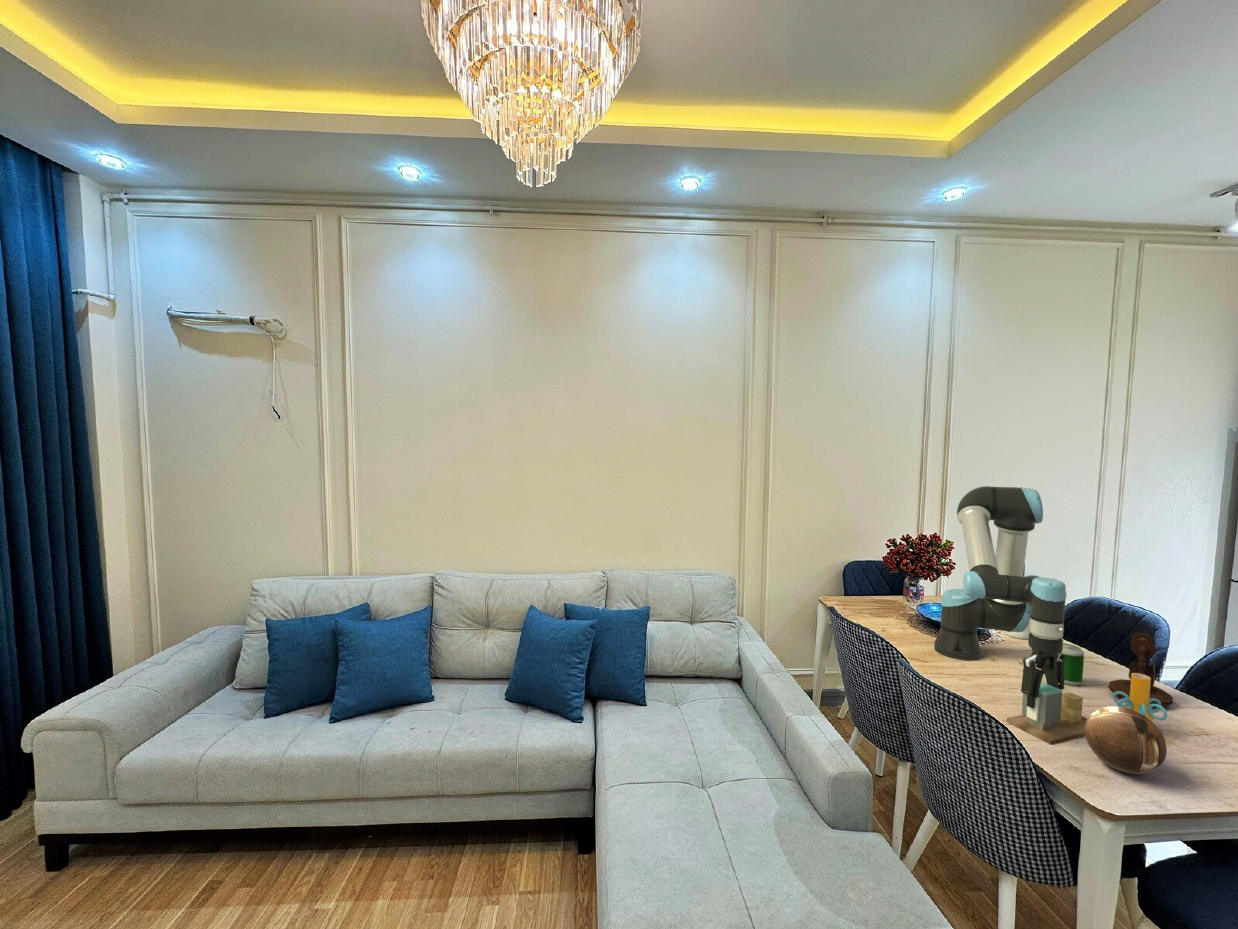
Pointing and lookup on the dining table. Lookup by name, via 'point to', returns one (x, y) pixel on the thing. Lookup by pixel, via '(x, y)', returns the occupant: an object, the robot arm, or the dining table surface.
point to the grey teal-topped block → (1047, 704)
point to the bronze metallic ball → (1125, 740)
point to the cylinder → (1140, 697)
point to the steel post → (1040, 725)
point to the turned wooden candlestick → (1142, 670)
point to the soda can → (1073, 664)
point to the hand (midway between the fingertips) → (1041, 716)
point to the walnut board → (1061, 730)
